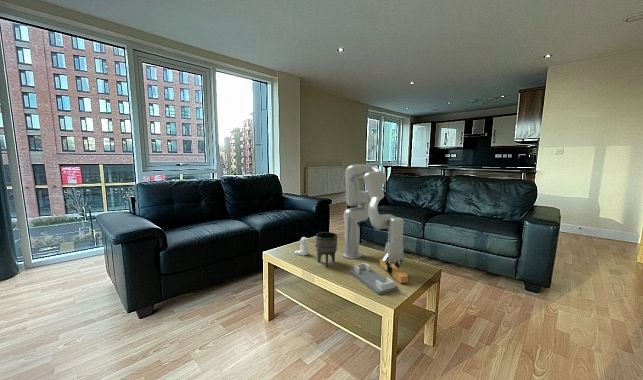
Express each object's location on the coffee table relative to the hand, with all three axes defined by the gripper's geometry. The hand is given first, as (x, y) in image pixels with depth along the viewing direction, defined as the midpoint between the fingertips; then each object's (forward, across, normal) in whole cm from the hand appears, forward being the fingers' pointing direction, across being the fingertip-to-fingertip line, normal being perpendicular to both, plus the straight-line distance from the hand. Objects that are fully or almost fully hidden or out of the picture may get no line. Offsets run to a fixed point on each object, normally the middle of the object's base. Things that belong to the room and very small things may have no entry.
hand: (392, 271), depth 142 cm
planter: (+3, +27, -28) cm, 39 cm away
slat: (+1, 0, 0) cm, 1 cm away
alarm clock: (+3, +14, -58) cm, 60 cm away
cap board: (+2, +15, +2) cm, 15 cm away
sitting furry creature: (+3, +34, -48) cm, 59 cm away
